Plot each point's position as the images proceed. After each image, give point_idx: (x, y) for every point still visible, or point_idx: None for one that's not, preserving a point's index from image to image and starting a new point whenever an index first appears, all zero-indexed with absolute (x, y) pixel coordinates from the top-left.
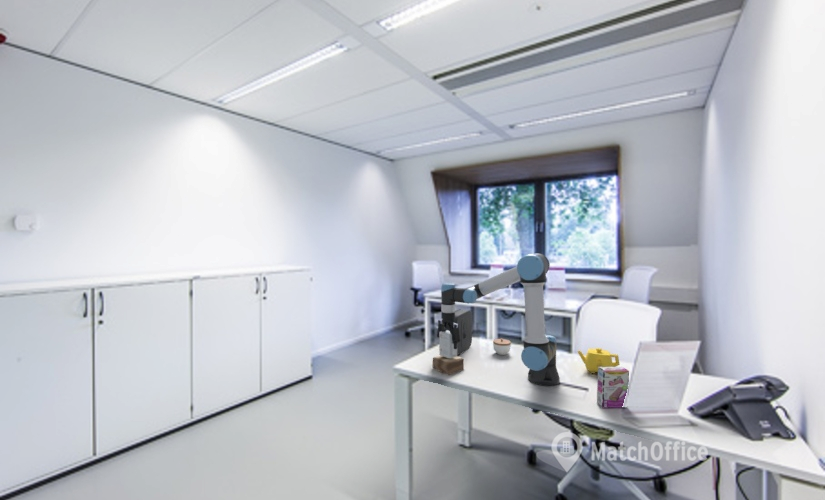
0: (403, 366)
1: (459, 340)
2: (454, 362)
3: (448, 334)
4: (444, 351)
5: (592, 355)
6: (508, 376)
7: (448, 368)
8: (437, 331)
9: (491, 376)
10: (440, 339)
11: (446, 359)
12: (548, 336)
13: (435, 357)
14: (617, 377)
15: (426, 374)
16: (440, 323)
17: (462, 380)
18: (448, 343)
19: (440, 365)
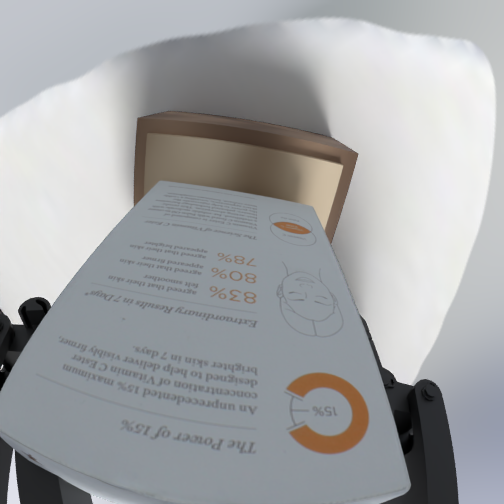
0: (483, 82)
1: (3, 366)
2: (136, 194)
3: (28, 452)
4: (226, 213)
5: None
6: (19, 291)
7: (153, 114)
8: (453, 459)
9: (35, 256)
10: (337, 340)
11: (209, 182)
12: None
13: (334, 163)
14: None
15: (302, 23)
16: None
17: (67, 114)
18: (96, 278)
19: (249, 125)
